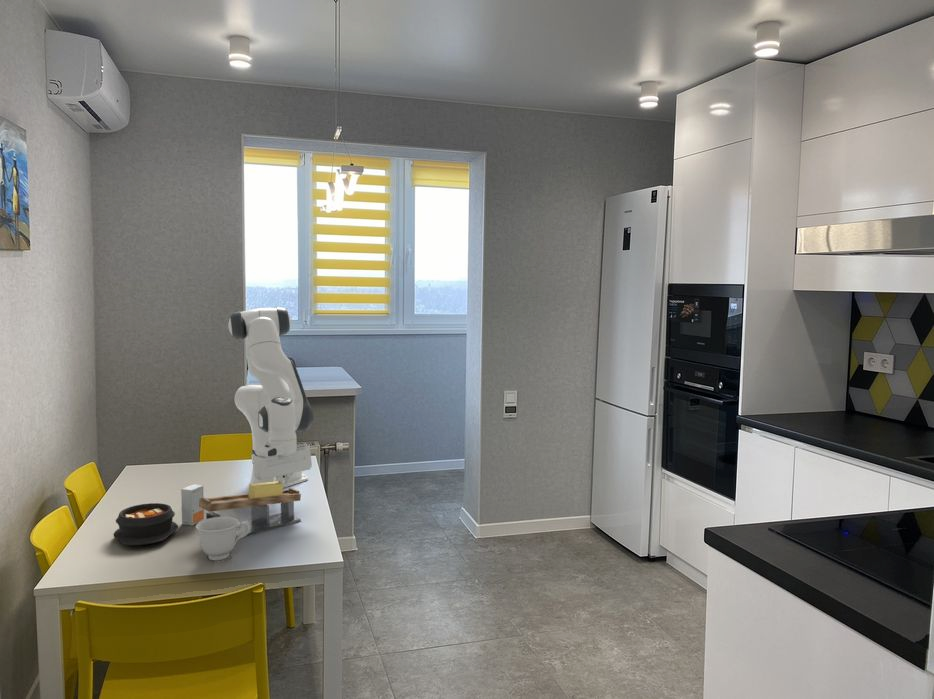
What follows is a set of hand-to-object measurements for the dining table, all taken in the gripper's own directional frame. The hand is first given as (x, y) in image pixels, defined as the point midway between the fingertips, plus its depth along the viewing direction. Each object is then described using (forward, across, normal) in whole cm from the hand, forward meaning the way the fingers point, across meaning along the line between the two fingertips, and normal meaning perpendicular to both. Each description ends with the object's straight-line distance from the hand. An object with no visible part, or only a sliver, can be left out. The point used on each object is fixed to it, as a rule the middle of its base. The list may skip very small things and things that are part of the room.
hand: (283, 487), depth 239 cm
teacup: (+12, +29, +14) cm, 34 cm away
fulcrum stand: (+11, +11, -1) cm, 16 cm away
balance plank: (+3, +12, -1) cm, 12 cm away
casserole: (+12, +38, -18) cm, 44 cm away
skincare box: (+12, +22, -20) cm, 32 cm away
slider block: (+2, +7, 0) cm, 7 cm away
